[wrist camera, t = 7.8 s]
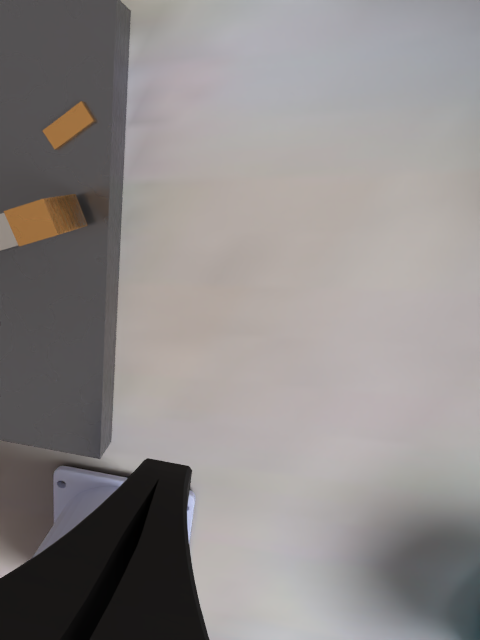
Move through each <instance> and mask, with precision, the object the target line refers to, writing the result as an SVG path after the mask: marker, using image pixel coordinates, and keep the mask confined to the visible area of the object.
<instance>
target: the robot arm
mask: <svg viewBox="0 0 480 640" xmlns="http://www.w3.org/2000/svg"><path fill="white" fill-rule="evenodd" d="M191 474H192V470H191V468H190V467H189V466H185V465H180V464H175V463H169V462H164V461H159V460H153V459H146V460H144V461H143V462H142V463H141V465H140V466H139V467H138V468H137V469H136V470H135V471H134V472H133V473H132V474H131V475H130V477H129V478H126V477H121V476H116V475H110V474H105V473H100V472H95V471H89V470H84V469H79V468H73V467H68V466H59V467H58V468H57V469H56V470H55V472H54V474H53V495H54V525H53V526H52V528H51V529H50V531H49V532H48V534H47V535H46V537H45V539H44V540H43V542H42V543H41V545H40V546H39V548H38V549H37V551H36V552H35V554H34V555H33V557H32V559H30V560H29V561H27V562H26V563H24V564H23V565H21V566H20V567H18V568H17V569H15V570H13V571H12V572H10V573H8V574H7V575H5V576H4V577H2V578H0V640H209V637H208V634H207V630H206V626H205V622H204V619H203V615H202V611H201V608H200V604H199V599H198V595H197V590H196V585H195V580H194V575H193V569H192V563H191V556H190V548H189V543H190V535H191V528H192V520H193V512H194V505H195V494H194V492H192V491H191V490H190V483H191ZM62 481H64V482H65V483H63V482H62Z"/></svg>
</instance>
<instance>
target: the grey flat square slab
mask: <svg viewBox="0 0 480 640" xmlns="http://www.w3.org/2000/svg"><path fill="white" fill-rule="evenodd" d="M130 14H131V11H130V10H129V9H128V8H127V7H126V6H125V5H124V4H123V3H122V2H121V1H120V0H0V214H2V213H4V211H6V210H9V209H12V208H15V207H18V206H21V205H25V204H28V203H31V202H34V201H37V200H40V199H44V198H51V197H58V196H64V195H71V194H76V196H77V199H78V202H79V204H80V207H81V209H82V212H83V215H84V217H85V220H86V222H87V225H88V226H85V227H82V228H79V229H75V230H72V231H69V232H66V233H63V234H60V235H56V236H53V237H50V238H46V239H43V240H40V241H36V242H33V243H29V244H26V245H23V246H19V245H18V246H14V247H11V248H8V249H4V250H1V251H0V440H2V441H8V442H13V443H18V444H24V445H29V446H34V447H40V448H45V449H50V450H56V451H61V452H66V453H72V454H77V455H82V456H88V457H93V458H98V459H100V458H101V457H102V455H103V453H104V452H105V450H106V449H107V447H108V446H109V444H110V442H111V433H112V411H113V389H114V367H115V345H116V323H117V301H118V279H119V256H120V234H121V212H122V190H123V168H124V146H125V124H126V102H127V80H128V58H129V36H130Z"/></svg>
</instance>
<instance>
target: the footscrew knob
mask: <svg viewBox="0 0 480 640" xmlns="http://www.w3.org/2000/svg"><path fill="white" fill-rule="evenodd" d="M85 226H88V225H87V222H86V220H85V217H84V215H83V212H82V209H81V207H80V204H79V202H78V199H77V196H76V194H71V195H64V196H58V197H51V198H44V199H40V200H37V201H34V202H31V203H28V204H25V205H21V206H18V207H15V208H12V209H9V210H6V211H4V213H2V214H0V251H1V250H4V249H8V248H11V247H14V246H18V245H19V246H23V245H26V244H29V243H33V242H36V241H40V240H43V239H46V238H50V237H53V236H56V235H60V234H63V233H66V232H69V231H72V230H75V229H79V228H82V227H85Z"/></svg>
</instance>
